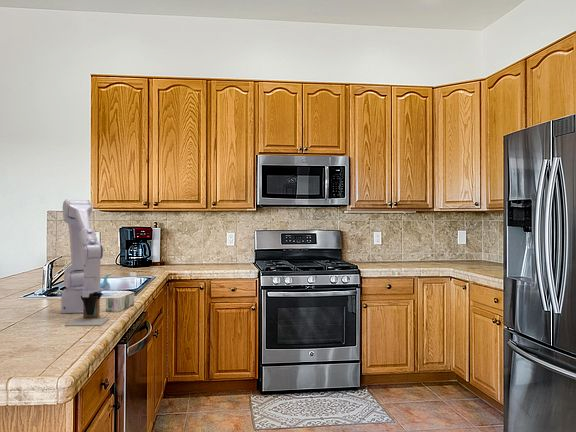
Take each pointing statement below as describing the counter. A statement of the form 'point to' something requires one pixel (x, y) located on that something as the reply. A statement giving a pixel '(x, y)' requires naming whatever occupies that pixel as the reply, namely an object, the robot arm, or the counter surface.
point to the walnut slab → (96, 311)
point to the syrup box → (119, 301)
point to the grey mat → (87, 322)
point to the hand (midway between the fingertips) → (91, 313)
